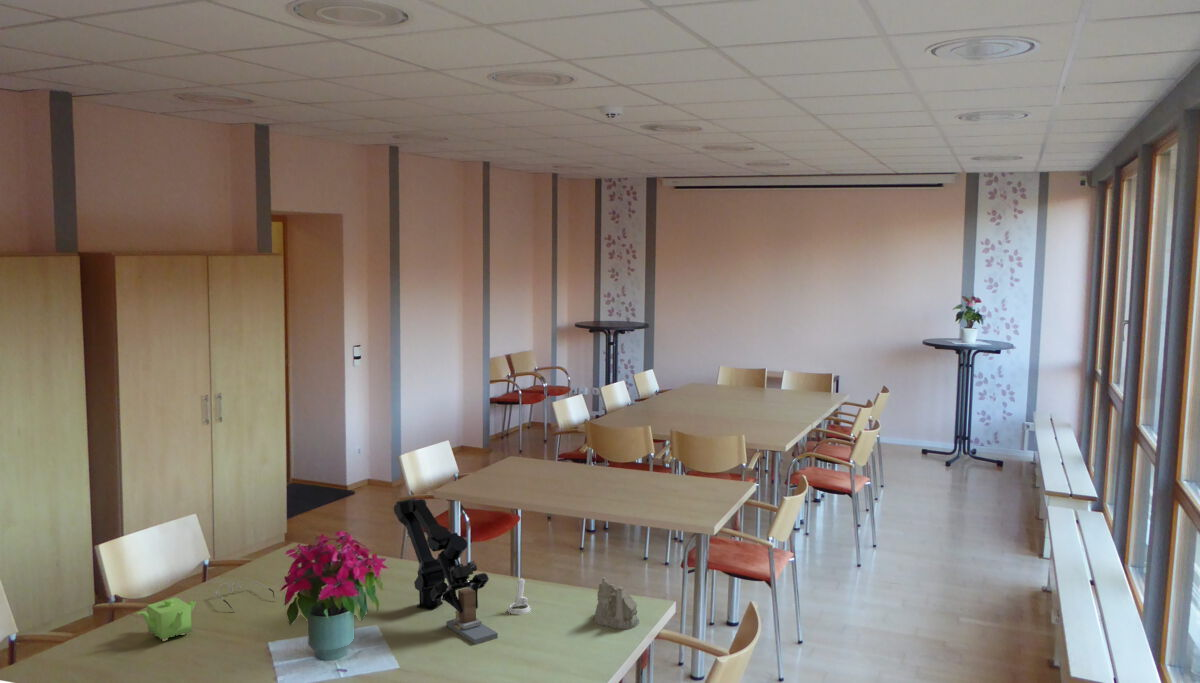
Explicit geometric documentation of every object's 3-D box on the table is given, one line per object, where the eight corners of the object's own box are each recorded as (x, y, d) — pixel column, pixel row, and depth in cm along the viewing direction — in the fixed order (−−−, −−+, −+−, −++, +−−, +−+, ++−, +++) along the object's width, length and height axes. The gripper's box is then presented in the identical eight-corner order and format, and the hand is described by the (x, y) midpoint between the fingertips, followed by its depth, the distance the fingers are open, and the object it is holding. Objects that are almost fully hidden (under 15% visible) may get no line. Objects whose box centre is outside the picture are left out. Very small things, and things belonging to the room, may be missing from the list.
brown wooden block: (453, 622, 290) (452, 589, 289) (470, 617, 294) (469, 585, 293) (464, 629, 285) (463, 596, 284) (481, 624, 288) (480, 591, 287)
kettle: (184, 644, 280) (182, 608, 279) (136, 646, 279) (134, 610, 278) (202, 624, 295) (200, 590, 294) (156, 626, 294) (154, 592, 293)
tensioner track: (446, 625, 292) (445, 613, 292) (468, 619, 297) (467, 607, 297) (474, 644, 278) (474, 631, 277) (497, 637, 283) (497, 625, 282)
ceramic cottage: (626, 631, 286) (626, 584, 286) (584, 622, 296) (584, 575, 295) (653, 619, 299) (653, 573, 298) (612, 610, 308) (612, 565, 308)
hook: (530, 585, 313) (535, 580, 307) (527, 621, 307) (532, 616, 301) (509, 582, 311) (513, 577, 305) (505, 618, 305) (509, 613, 299)
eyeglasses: (257, 588, 328) (256, 574, 328) (278, 602, 314) (277, 588, 314) (211, 599, 318) (210, 585, 317) (231, 614, 304) (230, 600, 303)
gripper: (433, 560, 285) (451, 605, 277) (485, 548, 296) (504, 591, 288) (422, 578, 291) (439, 622, 284) (473, 565, 303) (491, 607, 295)
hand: (469, 610), depth 288 cm, fingers open, 5 cm apart
